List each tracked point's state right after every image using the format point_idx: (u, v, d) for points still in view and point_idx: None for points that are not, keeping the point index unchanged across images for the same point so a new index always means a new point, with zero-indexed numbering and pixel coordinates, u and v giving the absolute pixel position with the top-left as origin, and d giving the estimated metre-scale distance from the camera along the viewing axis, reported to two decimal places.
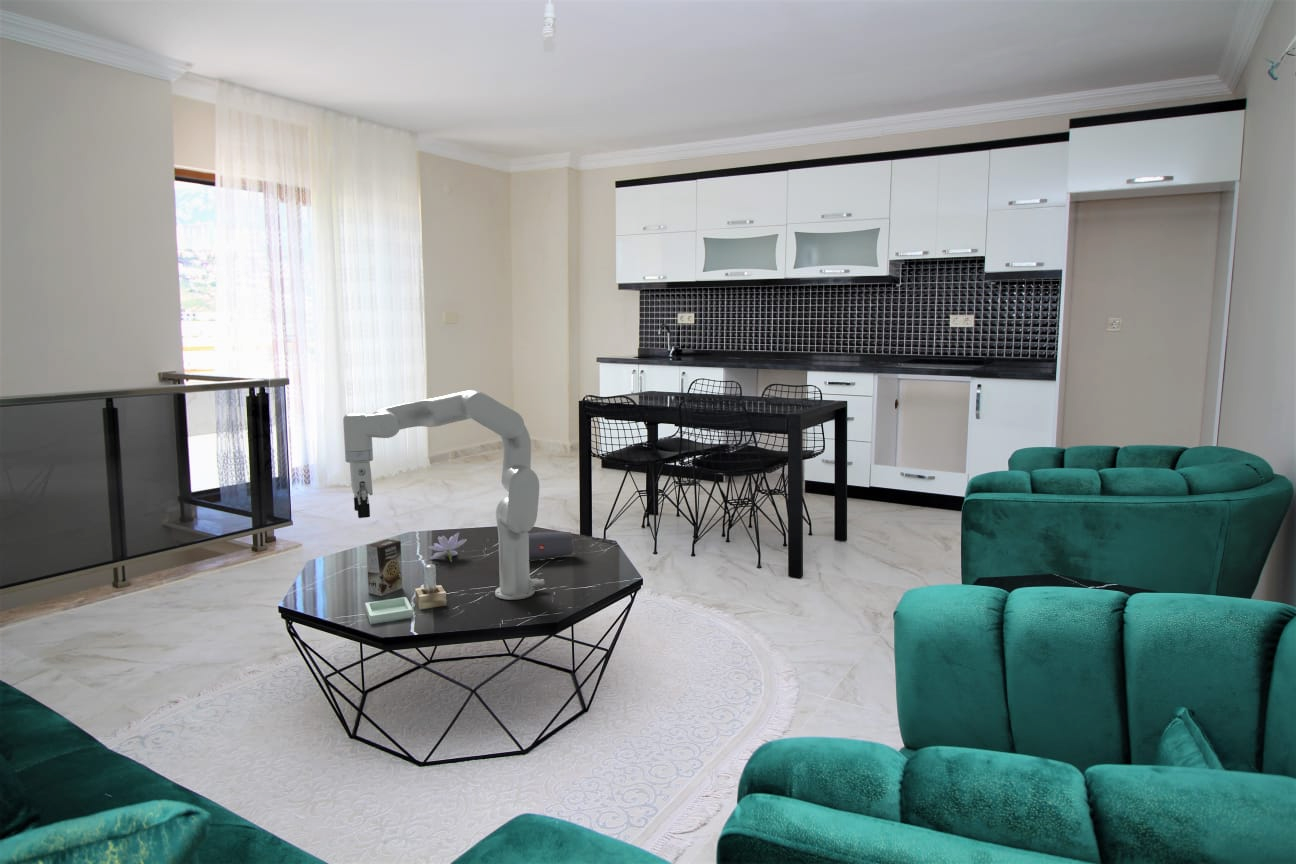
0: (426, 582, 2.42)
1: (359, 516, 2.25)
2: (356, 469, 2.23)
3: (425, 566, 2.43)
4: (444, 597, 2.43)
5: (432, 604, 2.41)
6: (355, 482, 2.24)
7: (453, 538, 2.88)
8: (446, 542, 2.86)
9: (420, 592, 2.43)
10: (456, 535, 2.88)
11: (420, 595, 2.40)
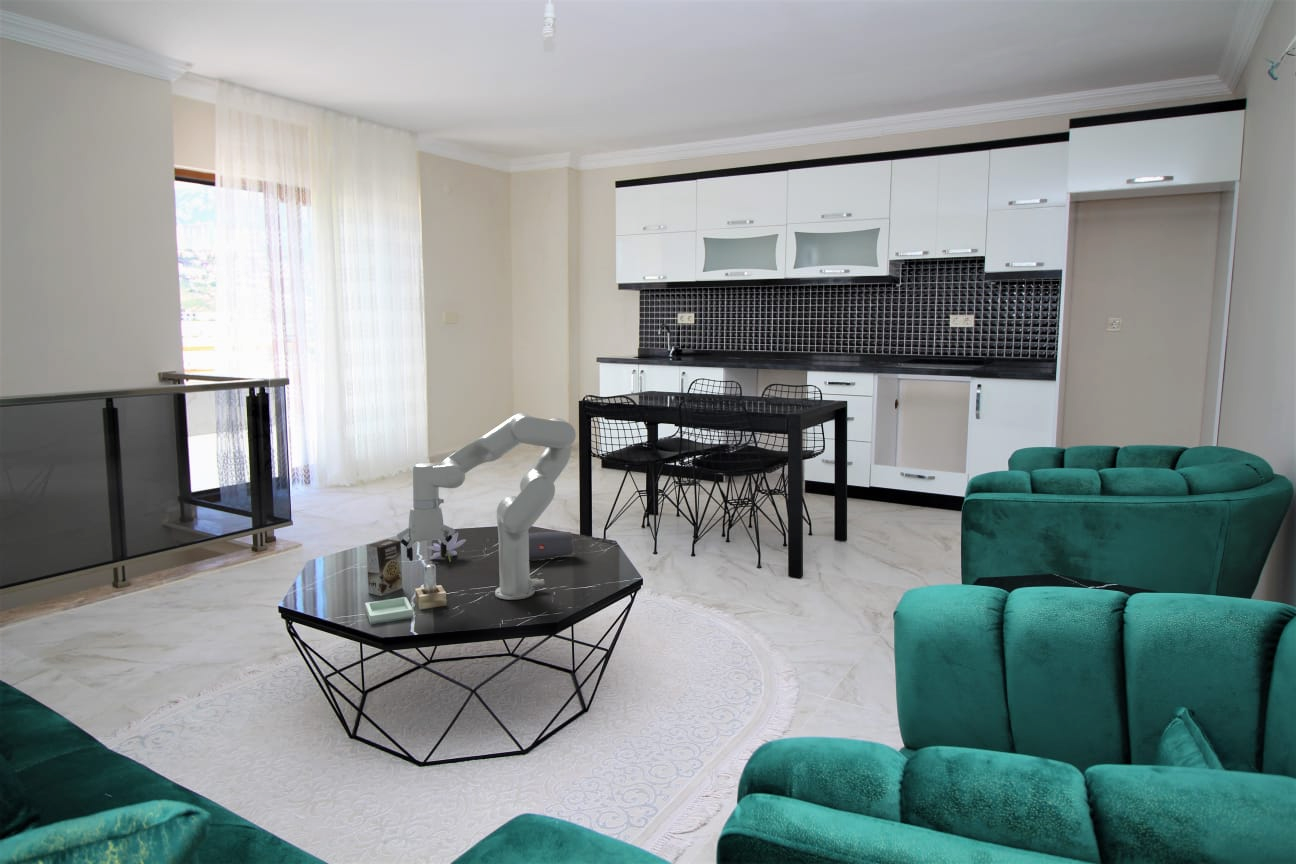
0: (426, 582, 2.42)
1: (444, 556, 2.44)
2: None
3: (425, 566, 2.43)
4: (444, 597, 2.43)
5: (432, 604, 2.41)
6: (443, 525, 2.42)
7: (452, 538, 2.88)
8: None
9: (420, 592, 2.43)
10: (455, 535, 2.88)
11: (420, 595, 2.40)
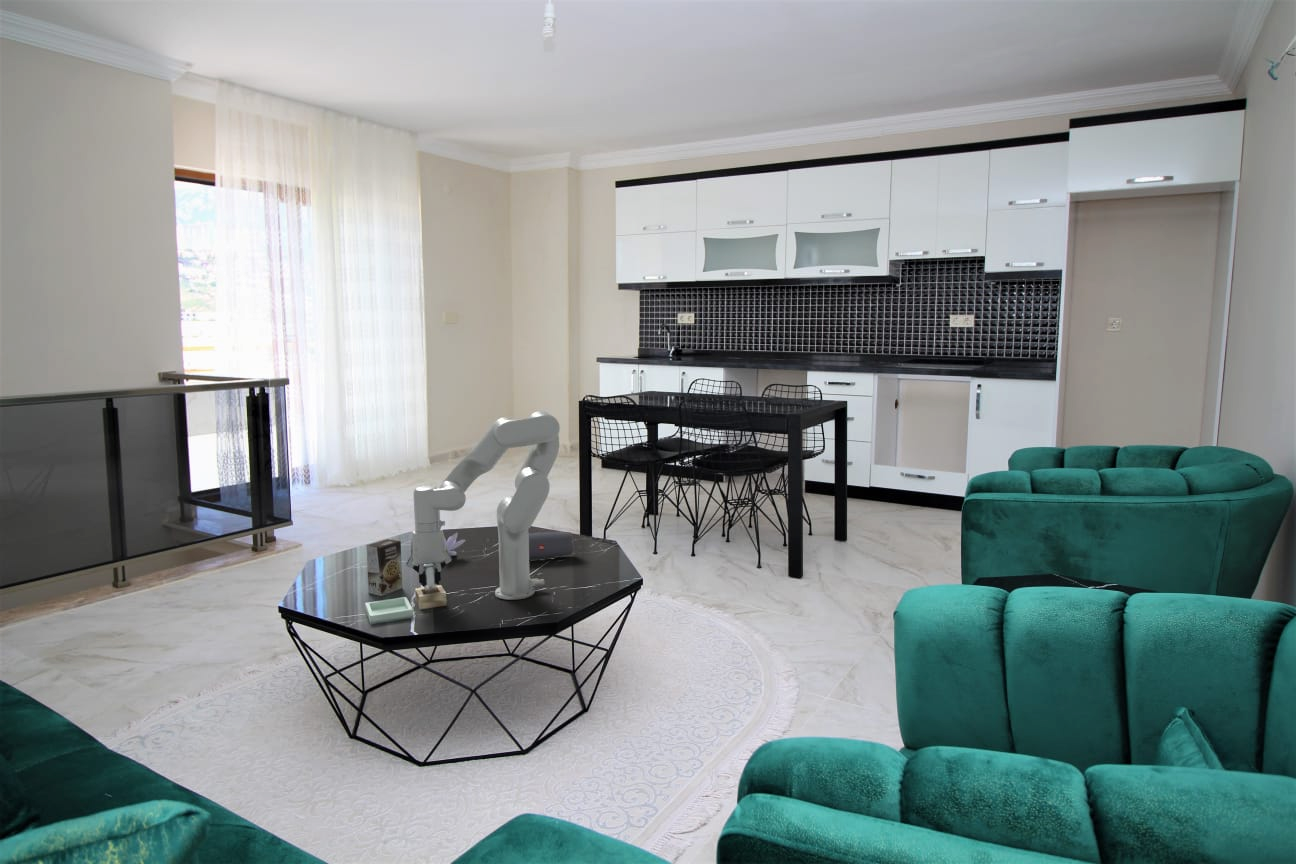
0: (426, 582, 2.42)
1: (438, 582, 2.44)
2: (443, 535, 2.43)
3: (425, 566, 2.43)
4: (444, 597, 2.43)
5: (432, 604, 2.41)
6: (445, 547, 2.43)
7: (452, 538, 2.87)
8: None
9: (420, 592, 2.43)
10: (455, 535, 2.88)
11: (420, 595, 2.40)
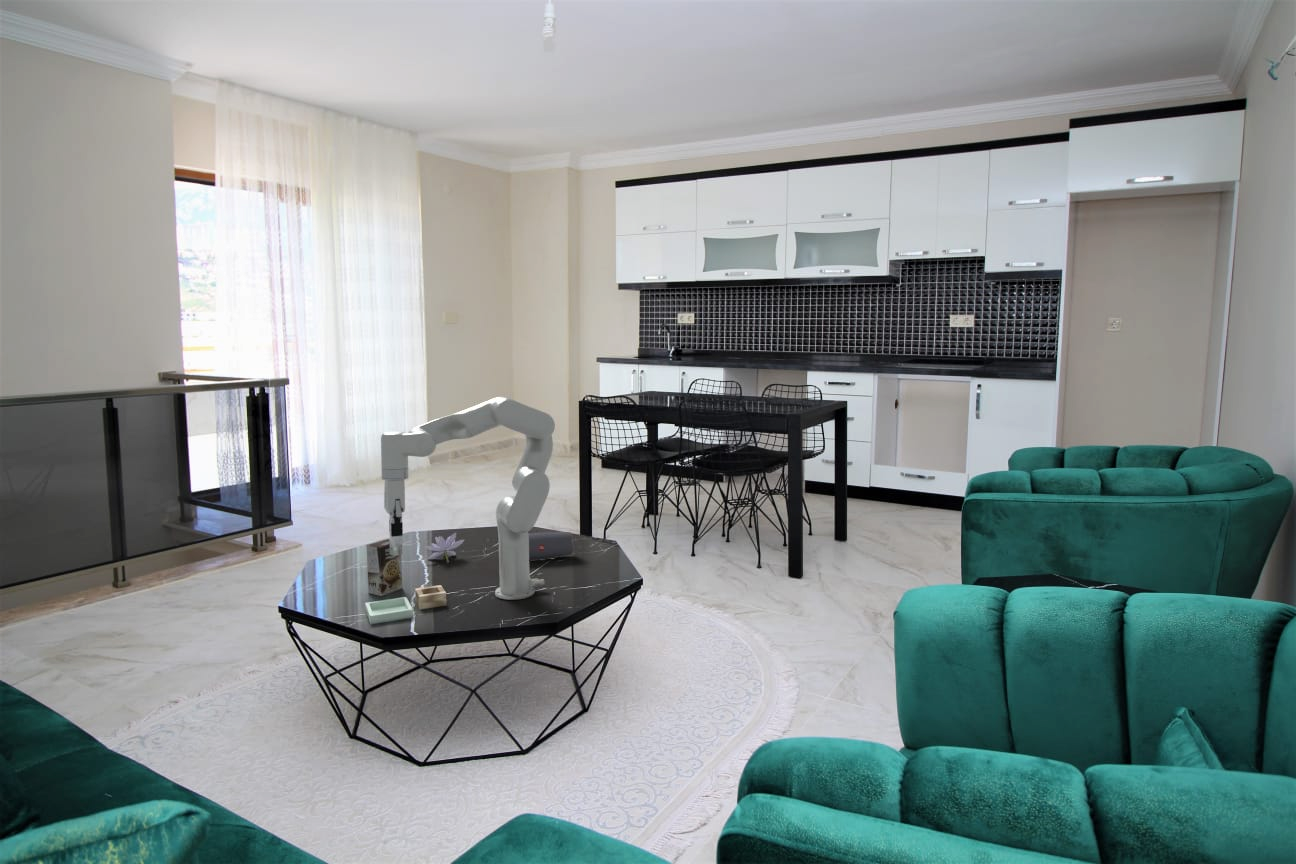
0: None
1: None
2: None
3: None
4: (444, 597, 2.43)
5: (432, 604, 2.41)
6: None
7: (450, 538, 2.87)
8: (443, 542, 2.86)
9: (420, 592, 2.43)
10: (453, 535, 2.87)
11: (420, 595, 2.40)
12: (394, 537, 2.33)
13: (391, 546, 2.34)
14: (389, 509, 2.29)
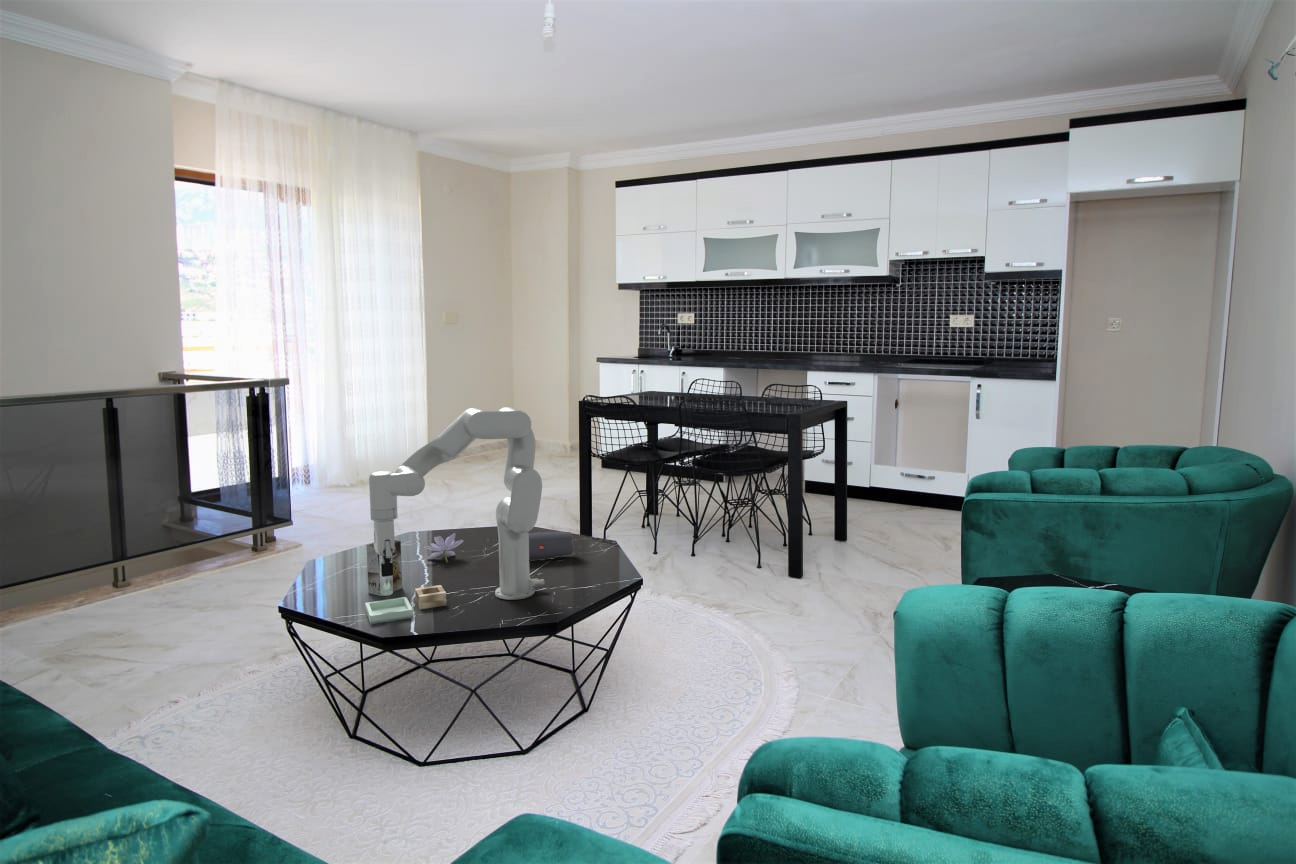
0: None
1: None
2: None
3: None
4: (444, 597, 2.43)
5: (432, 604, 2.41)
6: None
7: (449, 539, 2.87)
8: (442, 542, 2.86)
9: (420, 592, 2.43)
10: (452, 536, 2.87)
11: (420, 595, 2.40)
12: (384, 577, 2.32)
13: (381, 586, 2.33)
14: (379, 550, 2.28)
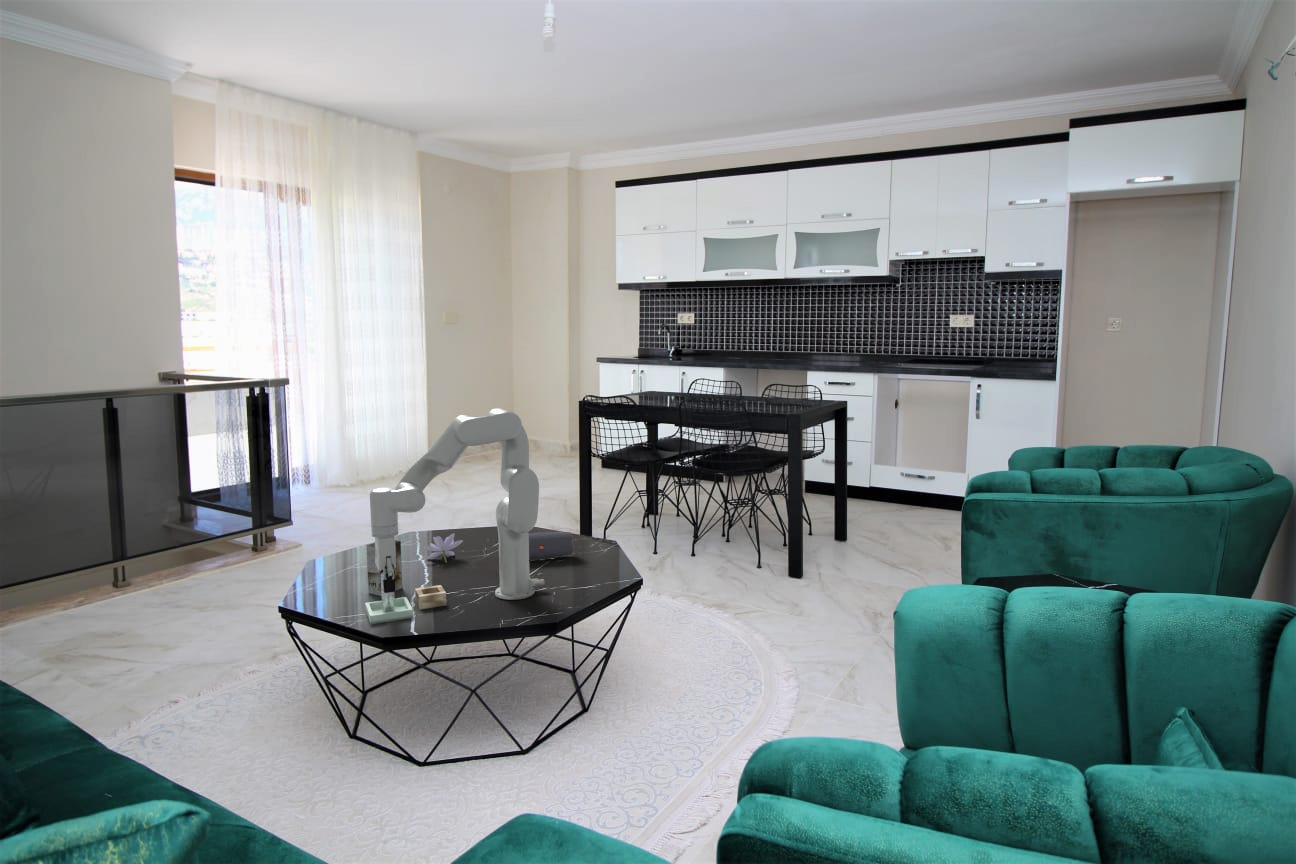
0: None
1: None
2: None
3: None
4: (444, 597, 2.43)
5: (432, 604, 2.41)
6: None
7: (448, 539, 2.87)
8: (441, 543, 2.85)
9: (420, 592, 2.43)
10: (452, 536, 2.87)
11: (420, 595, 2.40)
12: (386, 596, 2.33)
13: (383, 605, 2.34)
14: (380, 567, 2.28)
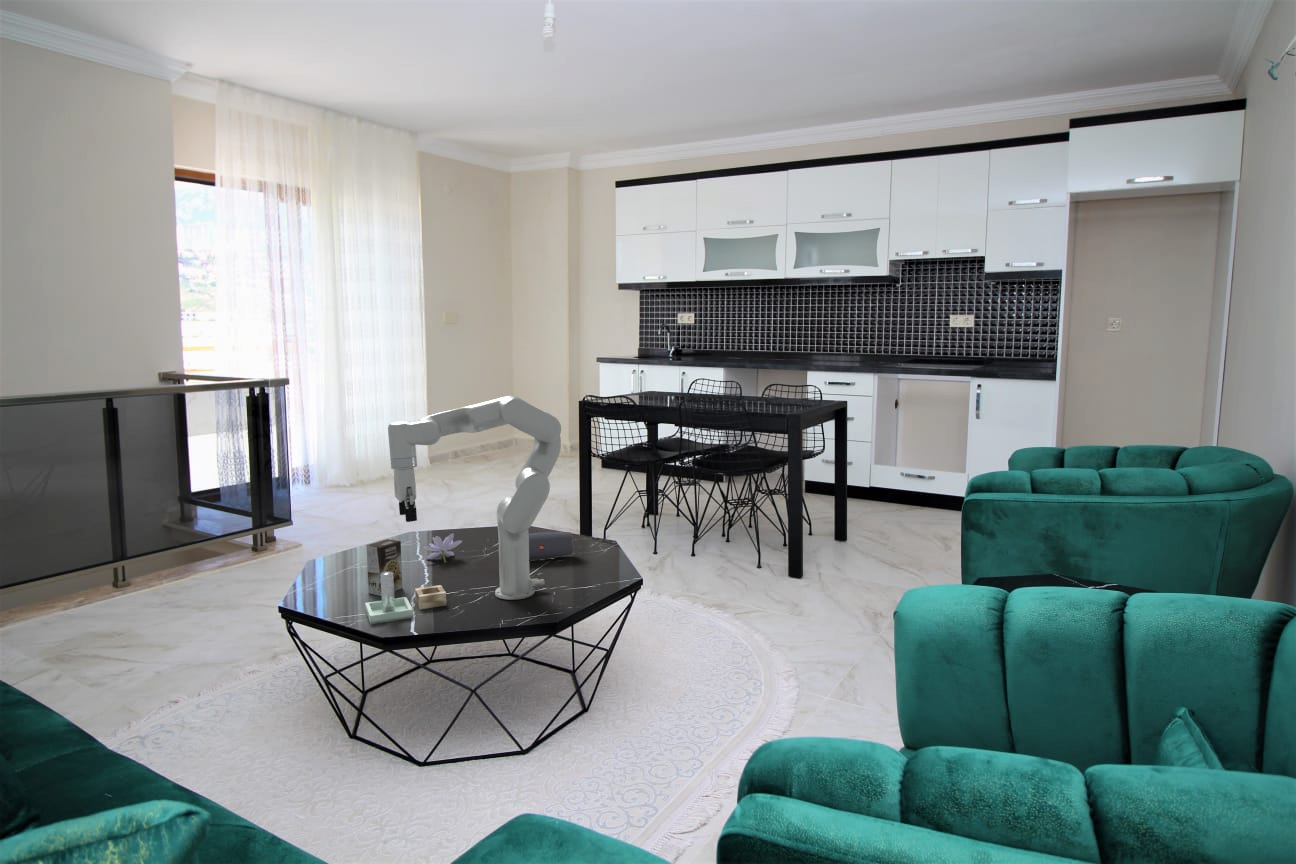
0: (392, 589, 2.34)
1: None
2: None
3: (387, 574, 2.33)
4: (444, 597, 2.43)
5: (432, 604, 2.41)
6: None
7: (448, 539, 2.87)
8: (440, 543, 2.85)
9: (420, 592, 2.43)
10: (451, 536, 2.87)
11: (420, 595, 2.40)
12: (386, 596, 2.33)
13: (383, 605, 2.34)
14: (401, 497, 2.34)
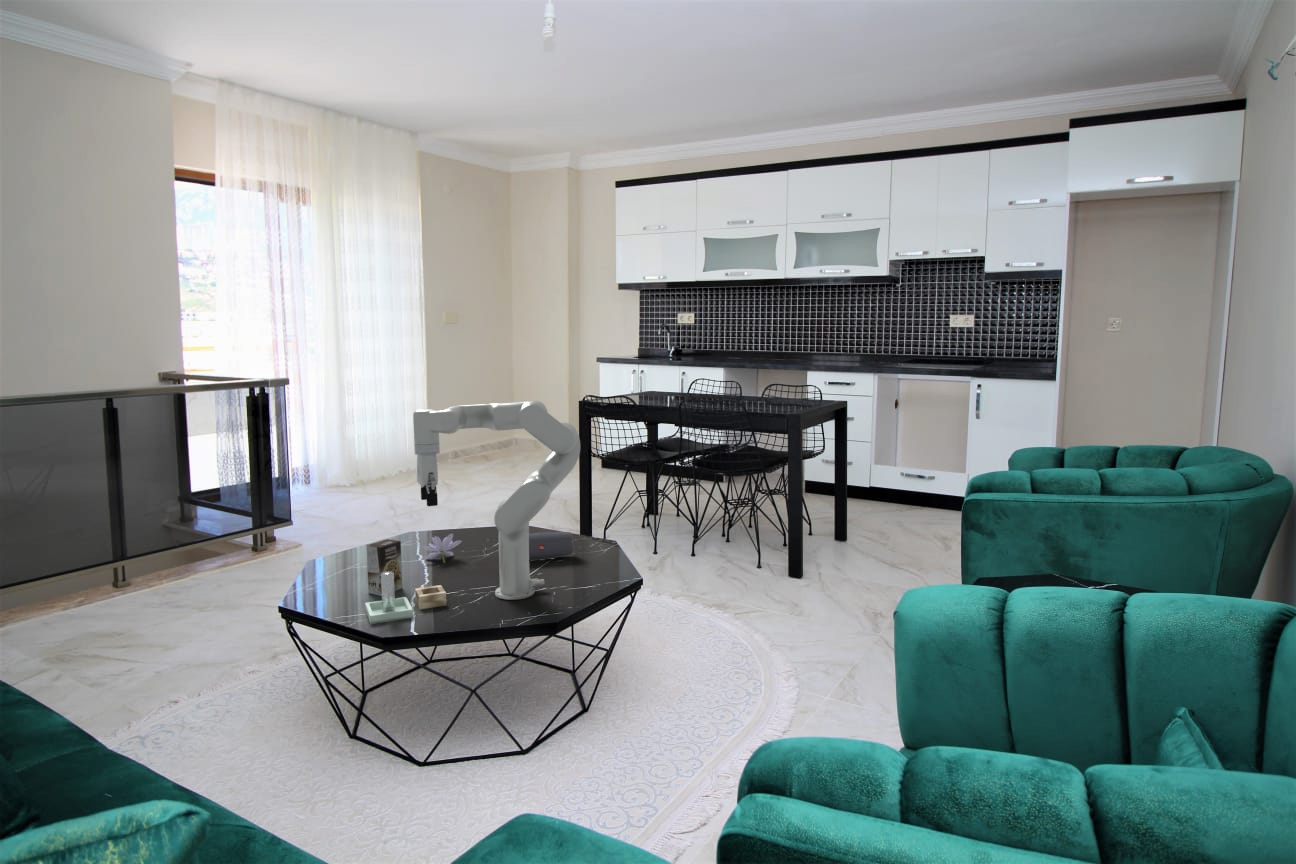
0: (392, 589, 2.34)
1: None
2: None
3: (387, 574, 2.33)
4: (444, 597, 2.43)
5: (432, 604, 2.41)
6: None
7: (447, 539, 2.87)
8: (439, 543, 2.85)
9: (420, 592, 2.43)
10: (450, 536, 2.87)
11: (420, 595, 2.40)
12: (386, 596, 2.33)
13: (384, 605, 2.34)
14: (423, 482, 2.42)
